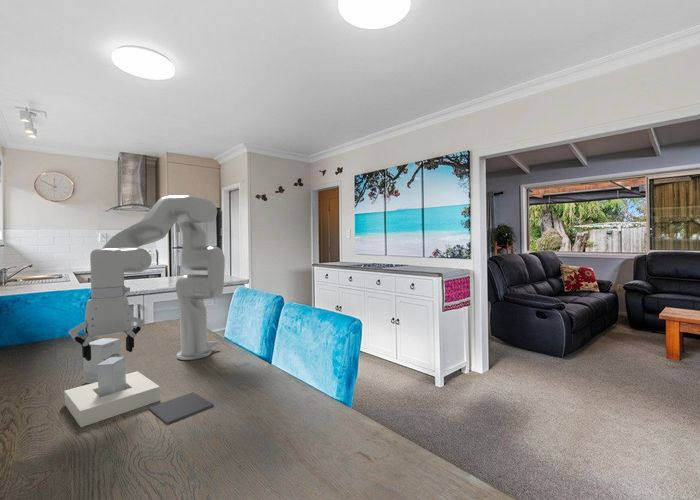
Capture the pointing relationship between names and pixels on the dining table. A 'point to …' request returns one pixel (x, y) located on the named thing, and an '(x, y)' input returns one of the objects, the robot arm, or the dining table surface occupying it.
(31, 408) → the dining table surface
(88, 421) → the bore holder
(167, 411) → the rubber mat
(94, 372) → the supplement box
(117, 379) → the skincare box
